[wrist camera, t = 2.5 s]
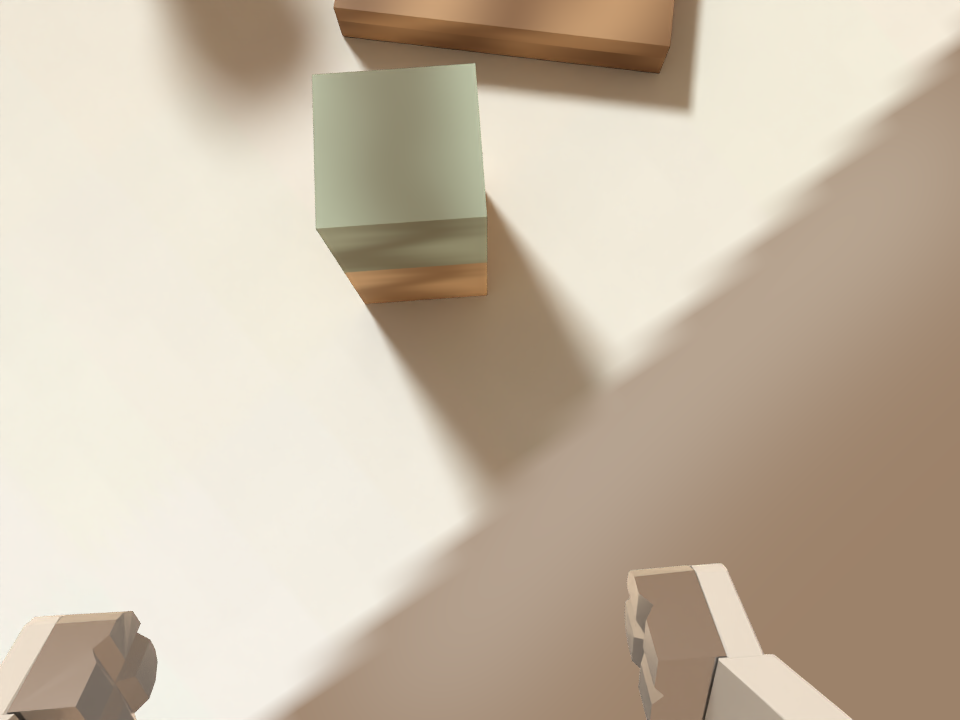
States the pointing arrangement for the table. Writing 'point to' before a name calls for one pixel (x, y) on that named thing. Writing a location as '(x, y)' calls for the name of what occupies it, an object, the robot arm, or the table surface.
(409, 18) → the walnut plate
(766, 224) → the table surface
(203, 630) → the table surface
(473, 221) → the block stack
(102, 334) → the table surface
